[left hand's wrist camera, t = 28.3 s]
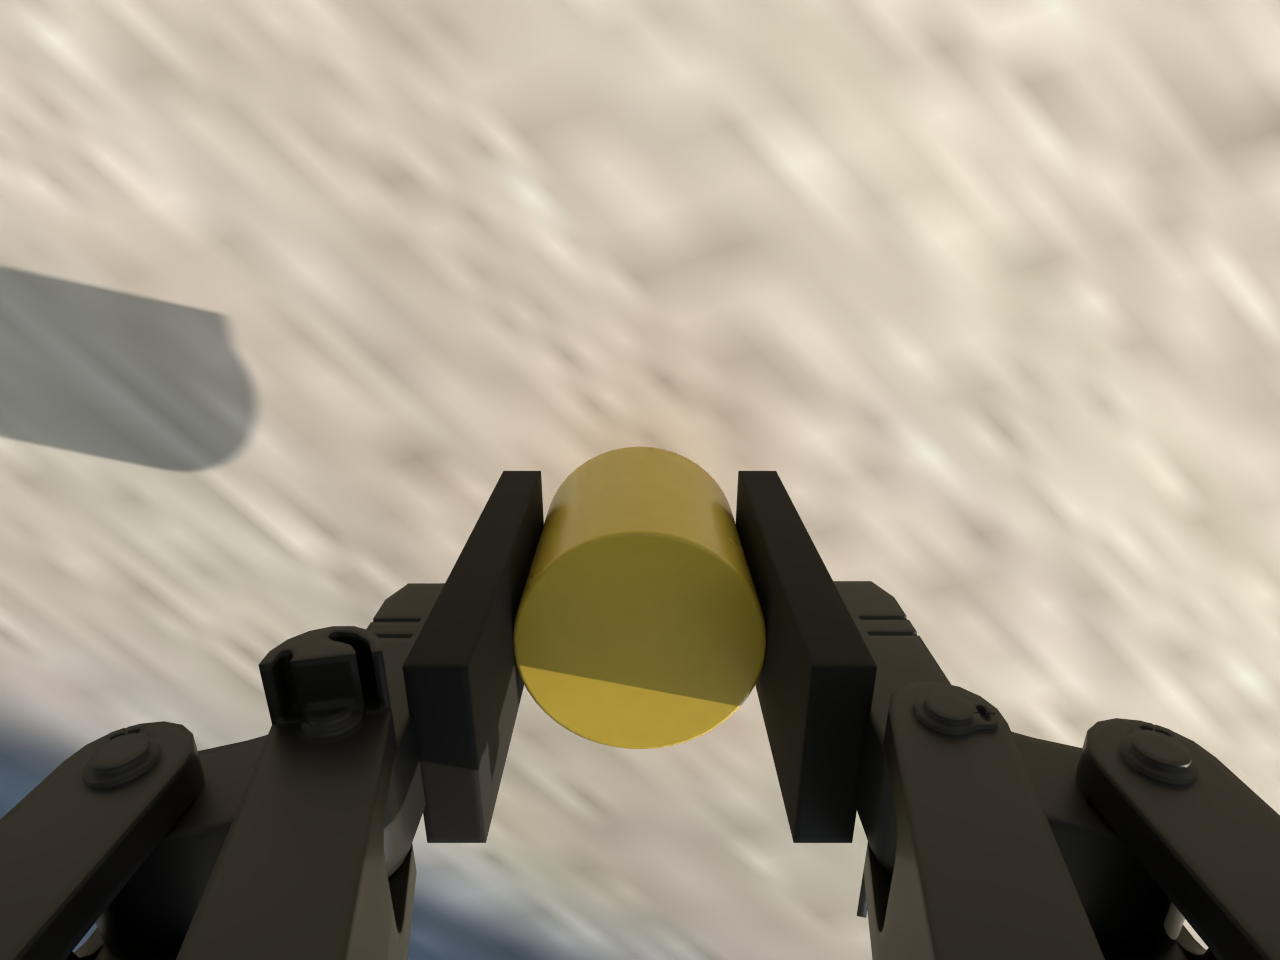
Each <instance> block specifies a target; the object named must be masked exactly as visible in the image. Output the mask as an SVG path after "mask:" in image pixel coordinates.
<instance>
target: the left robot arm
mask: <svg viewBox="0 0 1280 960" xmlns="http://www.w3.org/2000/svg"><path fill="white" fill-rule="evenodd" d="M543 526H544V520H543V502H542V483H541V471H503V473H502V475H501V477H500V479H499V481H498V483H497V485H496V487H495V488H494V490H493V492H492V494H491V496H490V498H489V500H488V502H487V504H486V506H485V508H484V510H483V512H482V514H481V516H480V517H479V519H478V521H477V523H476V525H475V527H474V529H473V531H472V533H471V535H470V537H469V539H468V541H467V543H466V545H465V546H464V548H463V550H462V552H461V554H460V556H459V558H458V560H457V562H456V564H455V566H454V568H453V570H452V572H451V573H450V575H449V577H448V579H447V581H446V583H445V584H407V585H406V586H404V587H403V588H402V589H400V590H399V591H397V592H396V593H395V594H393V595H392V596H390V597H389V598H387V599H386V600H385V601H384V603H383V605H382V606H381V608H380V609H379V611H378V612H377V614H376V615H375V617H374V618H373V622H371V623H370V625H369V626H368V628H367V629H362V628H358V627H355V626H332V627H327V628H322V629H317V630H312V631H308V632H306V633H303V634H301V635H298V636H296V637H293V638H291V639H288V640H286V641H285V642H283V643H282V644H280V645H279V646H277V647H276V648H274V649H273V650H271V651H270V652H269V653H268V654H267V655H266V656H265V658H264V659H263V660H262V661H261V663H260V664H259V669H260V673H261V678H262V682H263V686H264V691H265V695H266V699H267V704H268V708H269V712H270V717H271V721H272V727H271V729H270V732H269V734H268V735H266V736H262V737H258V738H255V739H251V740H248V741H243V742H239V743H234V744H229V745H225V746H220V747H216V748H211V749H206V750H202V751H197V747H196V744H195V740H194V737H193V734H192V733H191V732H190V731H189V730H188V729H187V728H185V727H184V726H183V725H180V724H175V723H170V722H154V723H144V724H138V725H135V726H130V727H128V728H123V729H120V730H117V731H114V732H112V733H110V734H108V735H106V736H104V737H102V738H100V739H97V740H95V741H93V742H91V743H89V744H87V745H86V746H84V747H83V748H82V749H80V750H79V751H77V752H76V753H75V754H73V755H72V756H71V757H69V758H68V759H67V760H65V761H64V762H63V763H62V764H61V765H60V766H58V767H57V768H56V769H55V770H54V771H53V772H52V773H51V774H50V775H49V776H48V777H46V778H45V779H44V780H43V781H42V782H41V783H40V784H39V785H38V786H37V787H36V788H34V789H33V790H32V791H31V792H30V793H29V794H28V795H27V796H26V797H25V798H23V799H22V800H21V801H20V802H19V803H18V804H17V805H16V806H15V807H14V808H13V809H11V810H10V811H9V812H8V813H7V814H6V815H5V816H4V817H3V818H2V819H1V820H0V960H408V950H409V940H410V930H411V921H412V911H413V901H414V891H415V881H416V866H415V859H414V852H413V846H412V841H413V839H414V836H415V833H416V830H417V827H418V825H419V822H420V819H421V816H422V814H423V815H424V822H425V829H426V836H427V843H486V840H487V836H488V831H489V827H490V823H491V819H492V815H493V811H494V807H495V803H496V798H497V794H498V790H499V786H500V782H501V778H502V774H503V770H504V765H505V761H506V757H507V753H508V749H509V745H510V741H511V736H512V732H513V728H514V724H515V720H516V716H517V712H518V708H519V703H520V699H521V695H522V691H523V687H524V683H523V681H522V679H521V677H520V674H519V671H518V668H517V665H516V661H515V655H514V644H513V629H514V621H515V617H516V614H517V610H518V607H519V603H520V600H521V597H522V594H523V590H524V587H525V584H526V581H527V578H528V574H529V571H530V568H531V565H532V562H533V558H534V555H535V552H536V549H537V546H538V542H539V539H540V536H541V533H542V529H543ZM736 527H737V531H738V534H739V537H740V540H741V543H742V547H743V550H744V553H745V556H746V560H747V563H748V566H749V569H750V572H751V576H752V579H753V582H754V585H755V589H756V592H757V595H758V598H759V601H760V605H761V608H762V611H763V614H764V619H765V625H766V651H765V659H764V663H763V666H762V670H761V673H760V675H759V677H758V679H757V682H756V684H755V685H756V689H757V693H758V697H759V701H760V705H761V710H762V714H763V718H764V722H765V726H766V730H767V734H768V738H769V743H770V747H771V751H772V755H773V759H774V763H775V767H776V772H777V776H778V780H779V784H780V788H781V792H782V796H783V800H784V805H785V809H786V813H787V817H788V821H789V825H790V829H791V833H792V838H793V842H794V843H852V839H853V832H854V825H855V818H856V811H858V814H859V817H860V820H861V823H862V825H863V828H864V831H865V834H866V836H867V839H868V846H867V852H866V859H865V865H864V872H863V878H862V885H861V891H860V898H859V904H858V911H857V916H860V917H866V915H867V909H868V919H869V929H870V939H871V948H872V958H873V960H1280V815H1279V814H1277V813H1276V812H1275V811H1274V810H1273V809H1272V808H1271V807H1270V806H1269V805H1268V804H1266V803H1265V802H1264V801H1263V800H1262V799H1261V798H1260V797H1259V796H1258V795H1257V794H1255V793H1254V792H1253V791H1252V790H1251V789H1250V788H1249V787H1248V786H1247V785H1246V784H1244V783H1243V782H1242V781H1241V780H1240V779H1239V778H1238V777H1237V776H1236V775H1235V774H1233V773H1232V772H1231V771H1230V770H1229V769H1228V768H1227V767H1226V766H1225V765H1224V764H1222V763H1221V762H1220V761H1219V760H1218V759H1217V758H1216V757H1214V756H1213V755H1212V754H1210V753H1209V752H1208V751H1206V750H1205V749H1203V748H1202V747H1201V746H1199V745H1198V744H1196V743H1195V742H1194V741H1192V740H1190V739H1188V738H1185V737H1183V736H1181V735H1179V734H1177V733H1175V732H1173V731H1171V730H1169V729H1167V728H1164V727H1161V726H1158V725H1153V724H1151V723H1147V722H1143V721H1138V720H1128V719H1118V718H1115V719H1110V720H1105V721H1099V722H1097V723H1096V724H1095V725H1094V726H1092V727H1091V728H1090V729H1089V730H1088V731H1087V734H1086V738H1085V741H1084V745H1083V748H1078V747H1074V746H1069V745H1064V744H1060V743H1055V742H1050V741H1046V740H1041V739H1036V738H1032V737H1028V736H1025V735H1021V734H1018V733H1014V732H1011V730H1010V728H1009V725H1008V723H1007V722H1006V721H1005V719H1004V718H1003V716H1002V715H1001V713H1000V712H999V711H998V709H997V708H995V707H994V706H993V705H991V704H990V703H989V702H987V701H986V700H985V699H983V698H982V697H981V696H979V695H976V694H974V693H972V692H970V691H967V690H965V689H963V688H961V687H958V686H953V685H951V684H950V682H949V681H948V679H947V678H946V676H945V674H944V673H943V671H942V670H941V668H940V667H939V665H938V664H937V662H936V661H935V659H934V658H933V656H932V655H931V653H930V651H929V650H928V648H927V647H926V645H925V644H924V642H923V641H922V639H921V638H920V636H917V632H916V630H915V629H914V627H913V625H912V624H911V622H910V621H909V620H907V619H906V615H905V613H904V612H903V610H902V609H901V607H900V606H899V604H898V602H897V601H896V599H895V598H894V597H893V596H891V595H890V594H889V593H887V592H886V591H884V590H883V589H881V588H880V587H879V586H877V585H876V584H874V583H873V582H871V581H833V580H832V578H831V576H830V575H829V573H828V571H827V569H826V567H825V565H824V563H823V561H822V559H821V557H820V555H819V553H818V551H817V549H816V547H815V546H814V544H813V542H812V540H811V538H810V536H809V534H808V532H807V530H806V528H805V526H804V524H803V522H802V520H801V518H800V517H799V515H798V513H797V511H796V509H795V507H794V505H793V503H792V501H791V499H790V497H789V495H788V493H787V491H786V489H785V488H784V486H783V484H782V482H781V480H780V478H779V476H778V474H777V472H776V471H739V473H738V492H737V511H736ZM1185 919H1186V920H1187V921H1188V923H1189V924H1190V925H1191V926H1192V928H1193V929H1194V930H1195V931H1196V933H1197V934H1198V935H1199V936H1200V937H1201V939H1202V940H1203V941H1204V942H1205V944H1206V945H1207V946H1208V947H1209V948H1208V949H1207V950H1206V949H1204V948H1203V947H1202V946H1201V945H1200V944H1199V943H1198V942H1197V941H1196V940H1195V939H1194V938H1193V937H1192V935H1191V934H1190V933H1189V932H1188V930H1187V929H1186V928H1185V927H1184V925H1183V923H1184V920H1185ZM95 922H96V924H97V929H96V930H95V931H94V932H93V934H92V935H91V936H90V938H89V939H88V940H87V941H86V942H85V943H84V944H83V945H82V946H81V947H80V948H79V949H78V950H77V951H76V952H74V953H73V952H72V951H73V949H74V948H75V947H76V946H77V944H78V943H79V942H80V941H81V939H82V938H83V937H84V936H85V934H86V933H87V932H88V931H89V929H90V928H91V927H92V926H93V925H94V923H95Z"/></svg>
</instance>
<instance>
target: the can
mask: <svg viewBox="0 0 1280 960" xmlns="http://www.w3.org/2000/svg"><path fill="white" fill-rule="evenodd" d="M513 644H514V655H515V661H516V665H517V668H518V671H519V674H520V677H521V679H522V681H523V683H524V684H525V686H526V688H527V690H528V692H529V693H530V695H531V696H532V698H533V699H534V700H535V702H536V703H537V704H538V705H539V706H540V707H541V708H542V710H543V711H544V712H545V713H546V714H547V715H549V716H550V717H551V718H552V719H553V720H555V721H556V722H557V723H558V724H560V725H562V726H563V727H565V728H566V729H568V730H569V731H571V732H573V733H575V734H577V735H579V736H581V737H583V738H586V739H589V740H591V741H594V742H597V743H600V744H605V745H609V746H613V747H620V748H628V749H649V748H660V747H666V746H671V745H675V744H679V743H682V742H686V741H689V740H691V739H694V738H696V737H698V736H701V735H703V734H705V733H706V732H708V731H710V730H712V729H714V728H715V727H717V726H718V725H719V724H721V723H722V722H724V721H725V720H726V719H728V718H729V717H730V716H731V715H732V714H733V713H734V712H735V711H736V710H737V709H738V708H739V707H740V706H741V705H742V703H743V702H744V701H745V700H746V699H747V697H748V696H749V694H750V692H751V691H752V689H753V688H754V686H755V684H756V682H757V679H758V677H759V675H760V673H761V670H762V666H763V663H764V659H765V651H766V625H765V619H764V614H763V611H762V608H761V605H760V601H759V598H758V595H757V592H756V589H755V585H754V582H753V579H752V576H751V572H750V569H749V566H748V563H747V560H746V556H745V553H744V550H743V547H742V543H741V540H740V537H739V534H738V531H737V527H736V524H735V521H734V518H733V514H732V511H731V509H730V506H729V503H728V500H727V499H726V497H725V495H724V493H723V491H722V490H721V488H720V487H719V485H718V484H717V483H716V481H715V480H714V479H713V478H712V477H711V476H710V475H709V474H708V473H707V472H706V471H705V470H704V469H702V468H701V467H700V466H699V465H697V464H696V463H694V462H692V461H691V460H689V459H687V458H685V457H683V456H681V455H678V454H676V453H673V452H670V451H667V450H663V449H657V448H651V447H630V448H622V449H617V450H613V451H609V452H607V453H604V454H601V455H599V456H597V457H595V458H593V459H591V460H589V461H587V462H586V463H584V464H583V465H581V466H580V467H578V468H577V469H576V470H575V471H574V472H573V473H572V474H570V475H569V476H568V477H567V479H566V480H565V481H564V482H563V483H562V485H561V486H560V487H559V489H558V491H557V492H556V494H555V495H554V498H553V500H552V502H551V504H550V507H549V510H548V513H547V517H546V520H545V523H544V526H543V529H542V533H541V536H540V539H539V542H538V546H537V549H536V552H535V555H534V558H533V562H532V565H531V568H530V571H529V574H528V578H527V581H526V584H525V587H524V590H523V594H522V597H521V600H520V603H519V607H518V610H517V614H516V617H515V621H514V629H513Z"/></svg>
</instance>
